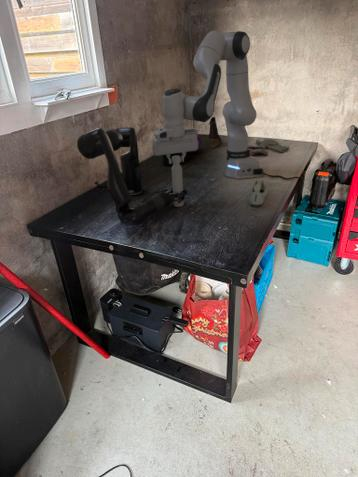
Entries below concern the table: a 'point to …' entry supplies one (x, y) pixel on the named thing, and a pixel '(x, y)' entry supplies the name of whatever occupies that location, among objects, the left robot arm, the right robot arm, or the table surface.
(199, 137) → the decorative orb
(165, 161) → the handbag
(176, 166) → the bottle
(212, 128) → the boot
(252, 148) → the pair of gloves
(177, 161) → the cap
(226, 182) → the table surface
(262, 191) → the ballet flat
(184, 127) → the right robot arm
